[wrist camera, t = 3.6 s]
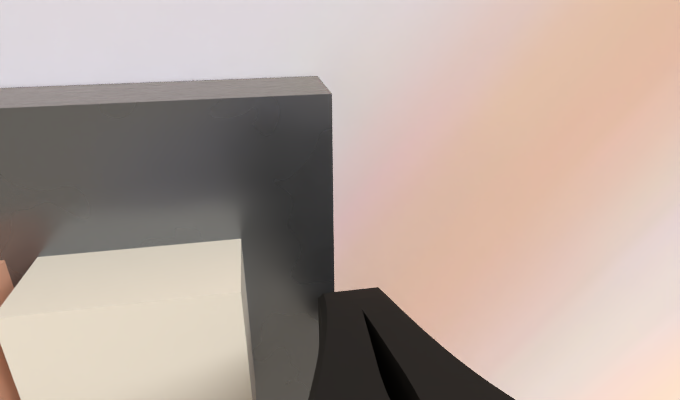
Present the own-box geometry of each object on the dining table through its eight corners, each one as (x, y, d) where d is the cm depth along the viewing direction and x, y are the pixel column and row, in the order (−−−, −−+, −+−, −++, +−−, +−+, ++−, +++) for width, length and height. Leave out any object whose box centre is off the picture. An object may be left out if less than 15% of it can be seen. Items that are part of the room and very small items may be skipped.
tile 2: (255, 381, 12) (258, 451, 10) (81, 405, 11) (51, 485, 10) (241, 238, 10) (240, 291, 9) (37, 257, 10) (-9, 319, 8)
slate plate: (325, 398, 15) (336, 453, 14) (-107, 462, 13) (-161, 536, 12) (317, 76, 11) (331, 93, 10) (-304, 99, 9) (-435, 127, 8)
